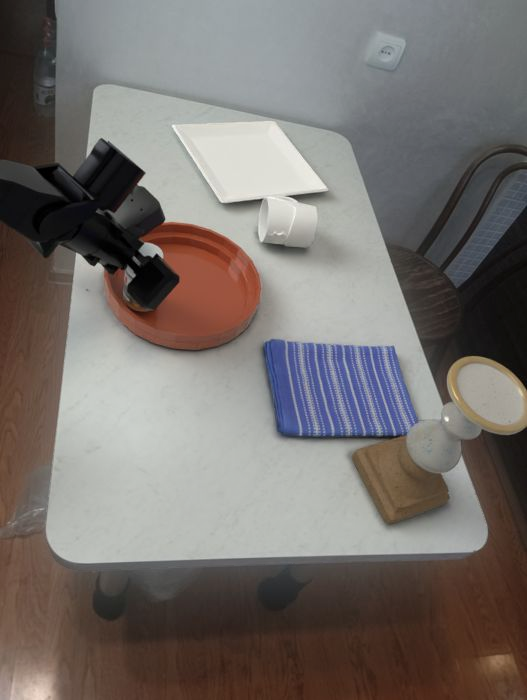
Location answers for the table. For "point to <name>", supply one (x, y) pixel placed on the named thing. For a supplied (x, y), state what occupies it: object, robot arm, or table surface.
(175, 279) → the robot arm
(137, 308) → the pill bottle
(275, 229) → the mug
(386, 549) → the table surface
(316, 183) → the plate
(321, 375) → the dish towel
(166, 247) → the bowl
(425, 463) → the candle holder
